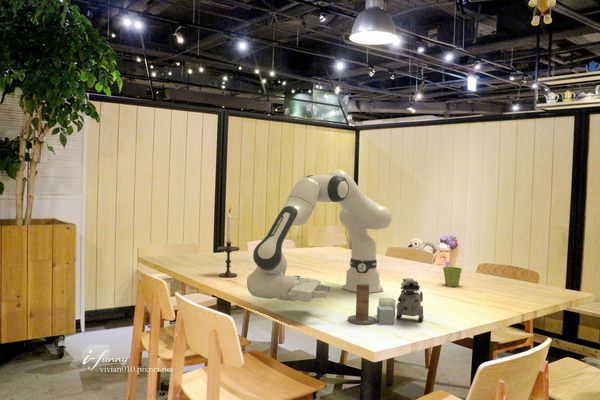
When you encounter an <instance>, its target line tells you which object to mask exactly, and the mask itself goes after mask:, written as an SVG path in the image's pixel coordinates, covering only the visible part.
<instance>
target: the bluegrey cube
mask: <svg viewBox="0 0 600 400" xmlns="http://www.w3.org/2000/svg"><path fill="white" fill-rule="evenodd" d="M376 307H377V308H376V319H377V322H378V324H379V325H395V317H394V314H395V315H396V309H395V310H394V309H393V308H392V307H382V306H379V305H378V306H376Z"/></svg>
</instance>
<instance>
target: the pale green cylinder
mask: <svg viewBox="0 0 600 400" xmlns="http://www.w3.org/2000/svg"><path fill="white" fill-rule="evenodd" d="M378 306H382V307H392V308H393V309H394V310H395V311H396V299H394V298H391V297H380V298H379V299H378ZM394 318H396V313H395V314H394Z"/></svg>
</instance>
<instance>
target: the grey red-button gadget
mask: <svg viewBox="0 0 600 400" xmlns="http://www.w3.org/2000/svg"><path fill="white" fill-rule="evenodd" d="M400 285H401V287H400V295H399V296H398V298H397V304H395V309H396V314H395V319H396V320H400V319H401V318H402V317H403V316H406V317H418V318H417V322H418V323H423V321H424V306H423V305H421V303H422V302H424V301H423V299H424V297H423V292H422V291H420V288H421V286H420V284H419V282H418V281H417V280H414V278H412V277H411V278H410V277H407V278H402V283H401V284H400Z"/></svg>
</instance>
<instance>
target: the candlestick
mask: <svg viewBox="0 0 600 400" xmlns="http://www.w3.org/2000/svg"><path fill="white" fill-rule="evenodd" d="M231 210H232V208H231V207H229V210H228V214H227V219H226V220H227V224H226V228H227V229H226V242H224V243H226V246H218V247H217V251H221V252H225V253H226V260H225V264H226V265H225V267H226V271H225V272H221V273H218V277H220V278H227V279H229V278H236V277H238V274H237V273H234V272H232V271H230V270H231V269H230V268H231V263H232V260H231V258H230V257H231V253H232V252H237V251H240V247H238V246H232V245H231V244H233V242H232V240H231V239H232V237H231V236H232V215H231Z"/></svg>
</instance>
